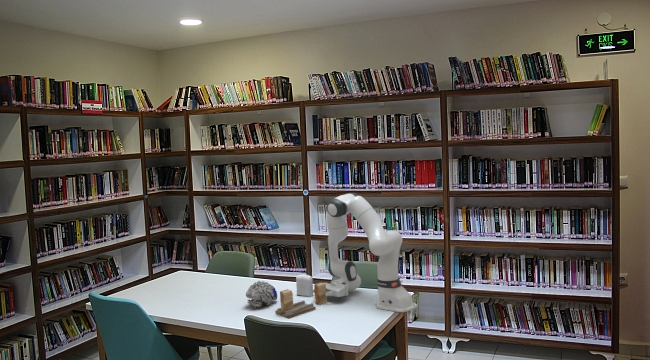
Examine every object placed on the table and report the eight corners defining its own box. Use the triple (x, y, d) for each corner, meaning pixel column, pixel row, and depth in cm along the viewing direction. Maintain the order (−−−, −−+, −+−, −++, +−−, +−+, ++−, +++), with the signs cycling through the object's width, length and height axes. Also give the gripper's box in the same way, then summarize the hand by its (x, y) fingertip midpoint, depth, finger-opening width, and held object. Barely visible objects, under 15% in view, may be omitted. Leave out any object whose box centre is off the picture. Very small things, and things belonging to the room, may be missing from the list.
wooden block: (326, 302, 290) (325, 283, 289) (319, 305, 286) (318, 285, 285) (322, 301, 293) (320, 282, 292) (314, 303, 289) (313, 284, 288)
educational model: (278, 313, 294) (284, 287, 298) (256, 307, 279) (263, 279, 283) (259, 309, 302) (266, 283, 306) (237, 303, 286) (244, 276, 291)
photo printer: (314, 295, 306) (313, 274, 305) (310, 297, 302) (309, 276, 301) (299, 293, 311) (298, 273, 310) (295, 295, 307) (294, 274, 306)
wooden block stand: (315, 309, 279) (314, 286, 278) (289, 318, 268) (287, 294, 267) (301, 305, 288) (300, 283, 287) (275, 313, 277) (273, 290, 276)
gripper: (325, 278, 305) (307, 284, 296) (349, 284, 290) (331, 290, 281) (326, 289, 306) (307, 295, 297) (350, 295, 291) (331, 302, 282)
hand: (319, 292), depth 289 cm, fingers open, 8 cm apart
